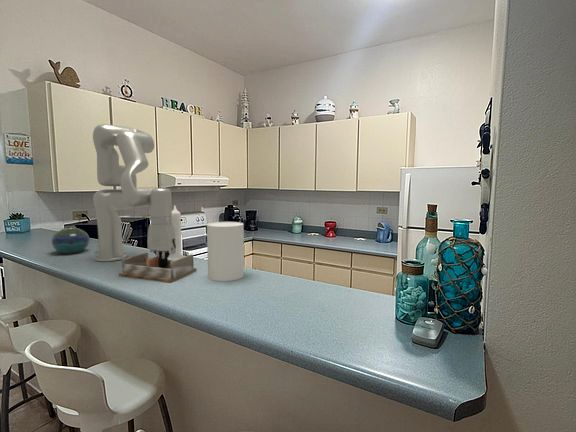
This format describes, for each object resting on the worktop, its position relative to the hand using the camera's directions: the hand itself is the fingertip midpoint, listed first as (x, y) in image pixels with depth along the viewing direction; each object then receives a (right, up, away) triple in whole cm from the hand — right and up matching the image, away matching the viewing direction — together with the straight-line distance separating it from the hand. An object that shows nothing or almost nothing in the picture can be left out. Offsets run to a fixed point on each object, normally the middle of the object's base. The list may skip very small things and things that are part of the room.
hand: (163, 267), depth 123 cm
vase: (-59, +2, +34) cm, 68 cm away
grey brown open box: (-2, -2, +1) cm, 3 cm away
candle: (-2, 0, +21) cm, 21 cm away
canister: (+25, -3, -1) cm, 25 cm away
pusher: (-3, -1, +1) cm, 3 cm away
